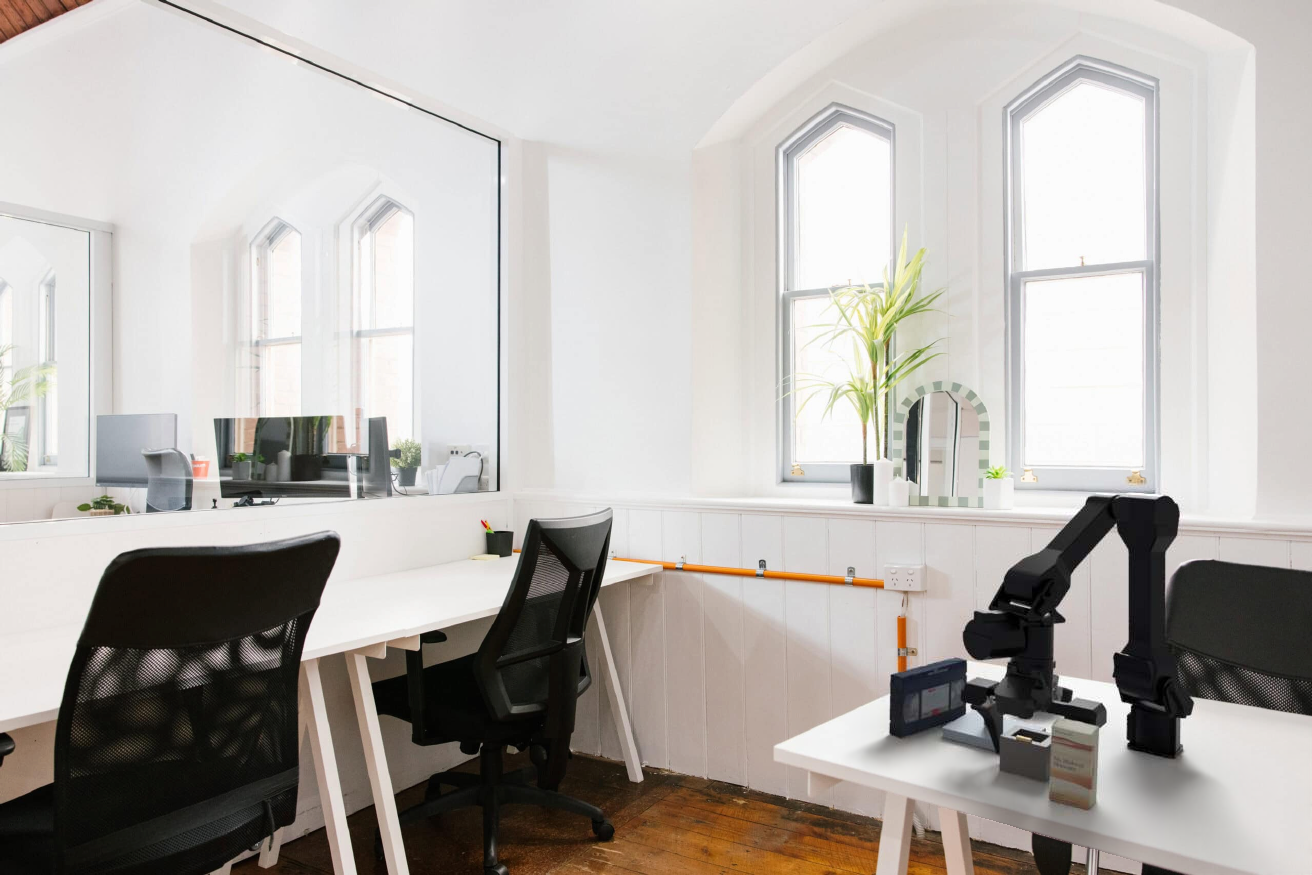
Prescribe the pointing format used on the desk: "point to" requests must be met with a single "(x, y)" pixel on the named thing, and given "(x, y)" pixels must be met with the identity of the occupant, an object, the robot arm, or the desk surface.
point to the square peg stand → (978, 730)
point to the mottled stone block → (1061, 691)
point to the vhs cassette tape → (926, 697)
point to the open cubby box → (1026, 753)
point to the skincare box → (1074, 763)
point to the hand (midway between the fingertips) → (1030, 761)
